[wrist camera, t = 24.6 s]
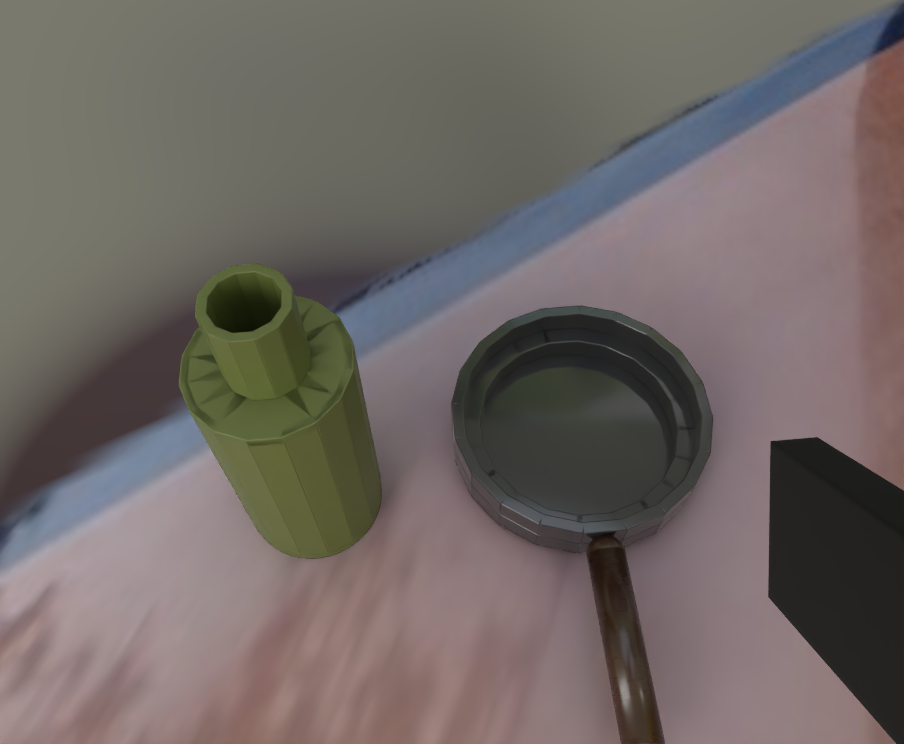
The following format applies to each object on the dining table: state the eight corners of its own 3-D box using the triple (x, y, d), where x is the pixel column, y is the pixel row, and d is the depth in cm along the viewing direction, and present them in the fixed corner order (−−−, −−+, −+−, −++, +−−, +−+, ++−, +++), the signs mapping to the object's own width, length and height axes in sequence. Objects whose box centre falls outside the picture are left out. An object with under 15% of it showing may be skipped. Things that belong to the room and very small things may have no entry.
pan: (666, 330, 49) (678, 297, 46) (725, 543, 42) (743, 519, 39) (443, 348, 49) (442, 316, 46) (465, 567, 42) (465, 544, 39)
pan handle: (618, 541, 41) (624, 527, 39) (665, 770, 35) (674, 764, 34) (581, 544, 41) (586, 530, 39) (623, 774, 35) (630, 768, 34)
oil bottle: (378, 433, 46) (338, 221, 31) (384, 552, 42) (342, 374, 28) (253, 444, 45) (156, 235, 31) (249, 564, 42) (135, 392, 27)
